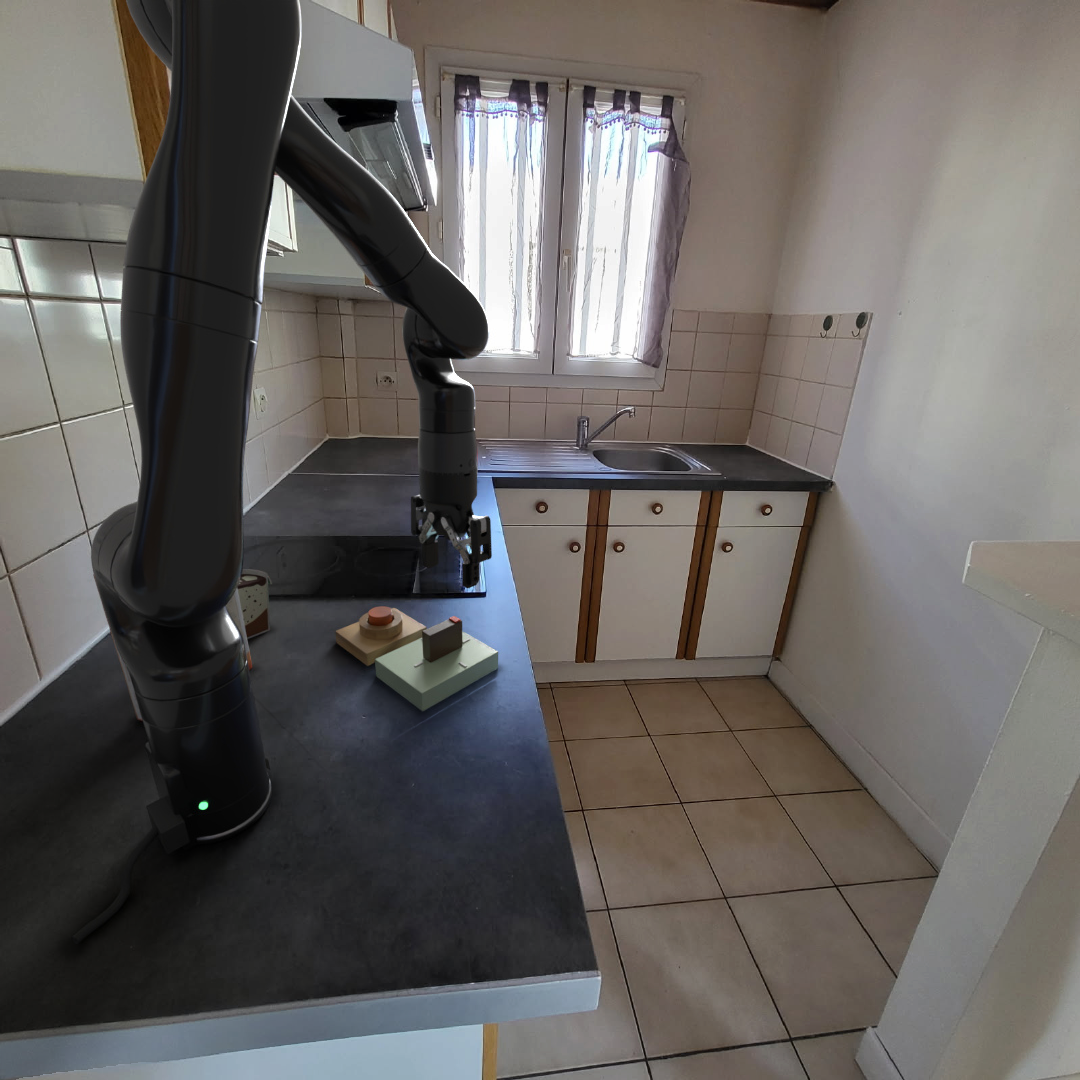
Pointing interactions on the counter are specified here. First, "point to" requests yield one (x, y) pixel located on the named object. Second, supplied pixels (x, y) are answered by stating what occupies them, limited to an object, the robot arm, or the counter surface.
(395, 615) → the button block
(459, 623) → the knob
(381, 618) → the button
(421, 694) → the panel
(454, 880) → the counter surface
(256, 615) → the food container
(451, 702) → the counter surface
